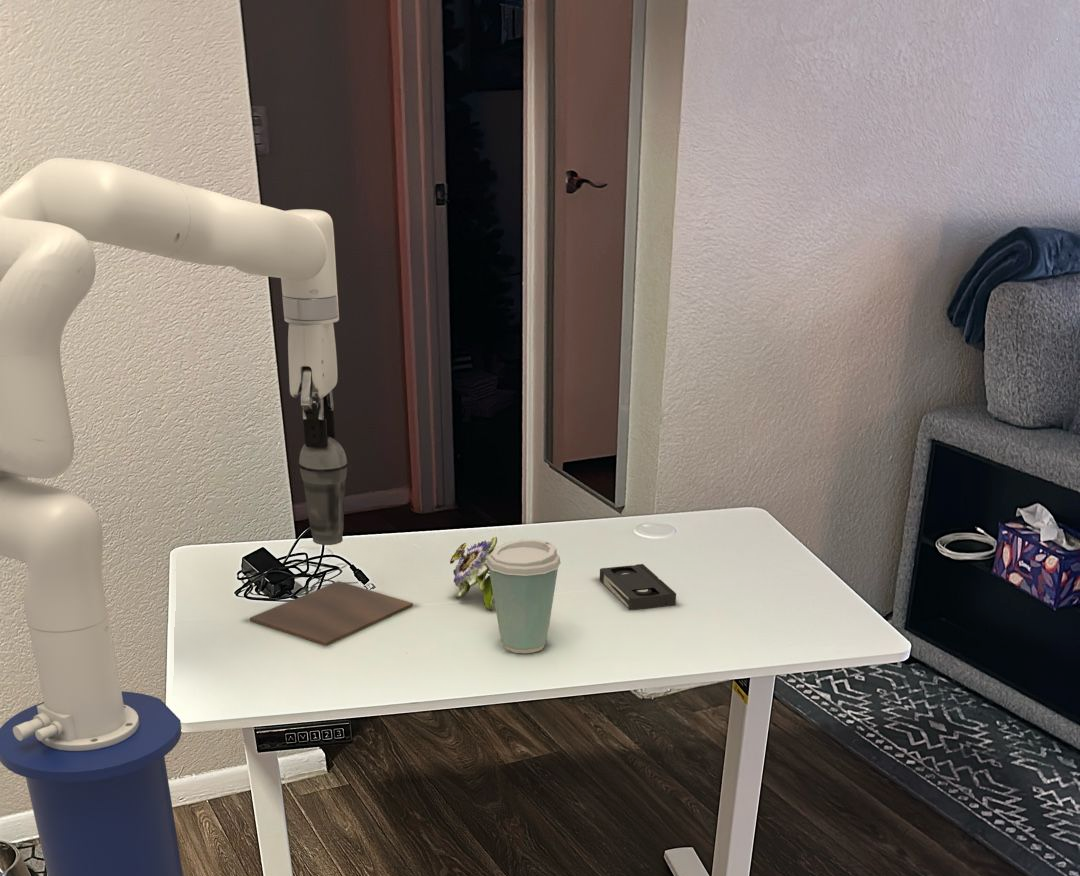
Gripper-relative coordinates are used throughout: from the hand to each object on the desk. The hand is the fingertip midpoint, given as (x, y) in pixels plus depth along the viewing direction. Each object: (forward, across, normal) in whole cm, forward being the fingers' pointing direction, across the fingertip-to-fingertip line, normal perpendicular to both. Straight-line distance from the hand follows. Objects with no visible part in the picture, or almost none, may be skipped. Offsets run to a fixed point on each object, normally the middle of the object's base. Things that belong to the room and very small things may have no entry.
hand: (320, 441), depth 186 cm
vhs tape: (+27, -16, +47) cm, 56 cm away
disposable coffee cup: (+27, +8, +31) cm, 42 cm away
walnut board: (+27, 0, 0) cm, 27 cm away
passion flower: (+27, -10, +23) cm, 37 cm away
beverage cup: (+15, 0, 0) cm, 15 cm away
